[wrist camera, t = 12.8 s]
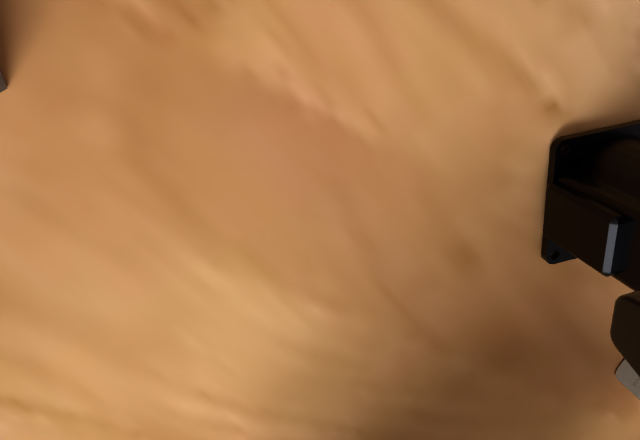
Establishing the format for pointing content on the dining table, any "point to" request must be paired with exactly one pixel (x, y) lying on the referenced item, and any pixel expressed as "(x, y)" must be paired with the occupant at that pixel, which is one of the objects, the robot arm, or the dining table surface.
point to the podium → (2, 83)
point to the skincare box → (629, 378)
